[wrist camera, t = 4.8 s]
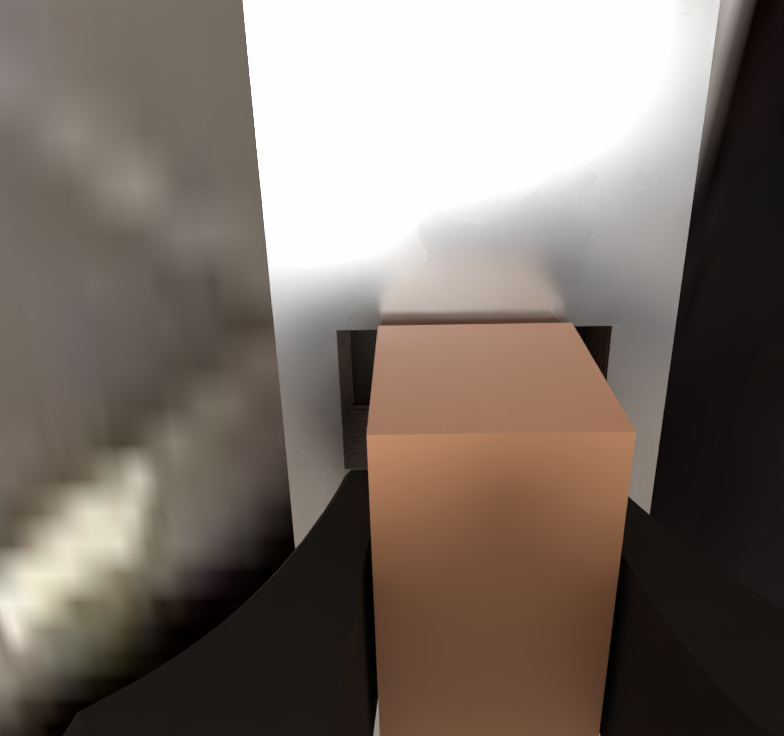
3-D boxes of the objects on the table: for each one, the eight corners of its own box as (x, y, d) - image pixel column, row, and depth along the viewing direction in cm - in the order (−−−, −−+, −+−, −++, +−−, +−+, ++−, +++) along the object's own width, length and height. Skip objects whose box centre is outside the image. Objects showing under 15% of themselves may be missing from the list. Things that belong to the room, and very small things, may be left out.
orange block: (544, 275, 14) (636, 431, 8) (527, 555, 16) (588, 817, 11) (382, 278, 14) (367, 434, 8) (391, 557, 16) (383, 817, 11)
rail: (696, -311, 11) (777, -410, 8) (572, 818, 20) (594, 917, 18) (249, -292, 11) (206, -385, 8) (339, 818, 20) (330, 916, 18)
